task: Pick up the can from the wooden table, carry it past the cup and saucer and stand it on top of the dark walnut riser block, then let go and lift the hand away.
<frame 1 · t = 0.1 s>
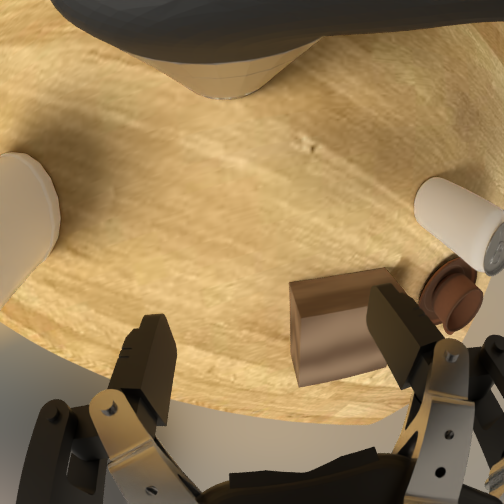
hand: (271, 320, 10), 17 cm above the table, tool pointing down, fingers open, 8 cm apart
cup and saucer: (442, 286, 34), on the table
bottle: (21, 207, 23), on the table
walnut block: (336, 314, 34), on the table
can: (431, 201, 27), on the table
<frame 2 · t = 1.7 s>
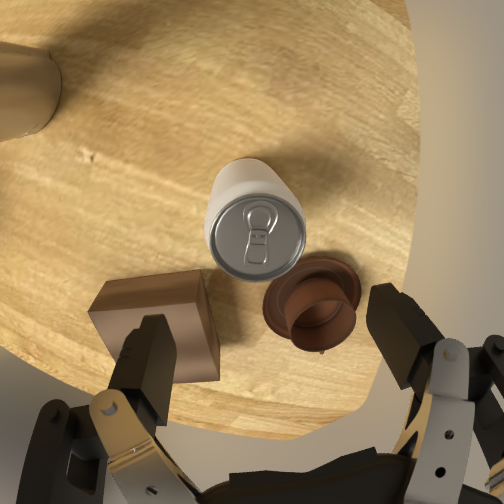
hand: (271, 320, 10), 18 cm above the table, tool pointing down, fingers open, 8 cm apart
cup and saucer: (309, 293, 33), on the table
walnut block: (164, 316, 33), on the table
can: (246, 189, 27), on the table
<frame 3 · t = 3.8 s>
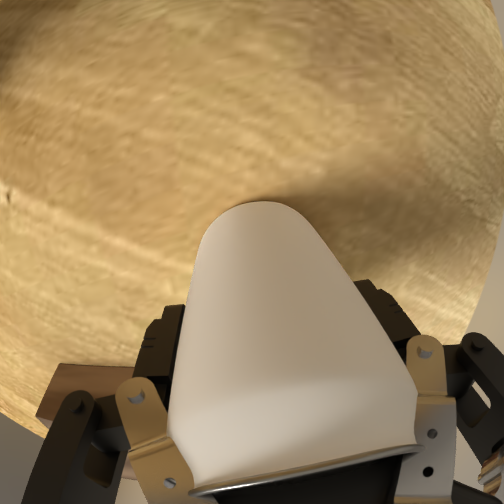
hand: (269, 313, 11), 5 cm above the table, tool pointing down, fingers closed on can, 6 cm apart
walnut block: (141, 408, 21), on the table
can: (258, 255, 15), on the table, touching gripper
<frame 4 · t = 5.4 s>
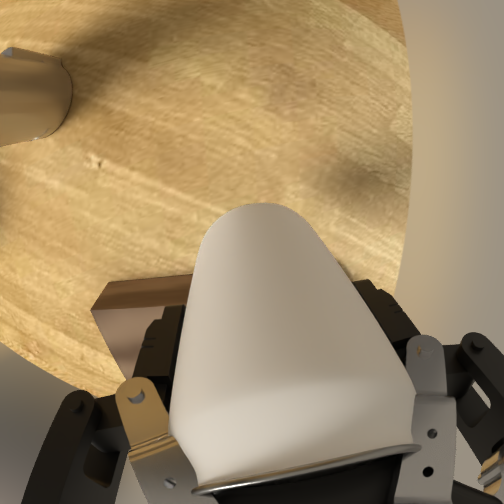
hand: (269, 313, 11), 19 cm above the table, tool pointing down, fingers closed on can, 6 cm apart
walnut block: (163, 318, 34), on the table
can: (258, 256, 15), point 14 cm above the table, touching gripper
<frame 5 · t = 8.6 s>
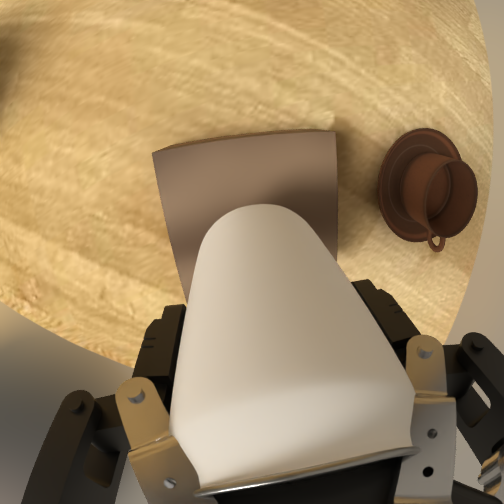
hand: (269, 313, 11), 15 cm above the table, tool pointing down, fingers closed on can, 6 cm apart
cup and saucer: (416, 182, 25), on the table
walnut block: (248, 201, 24), on the table
can: (259, 257, 15), point 11 cm above the table, touching gripper
when the fingers open (12 cm above the table, at t = 10.3 s): can stays where it is, resting on walnut block.
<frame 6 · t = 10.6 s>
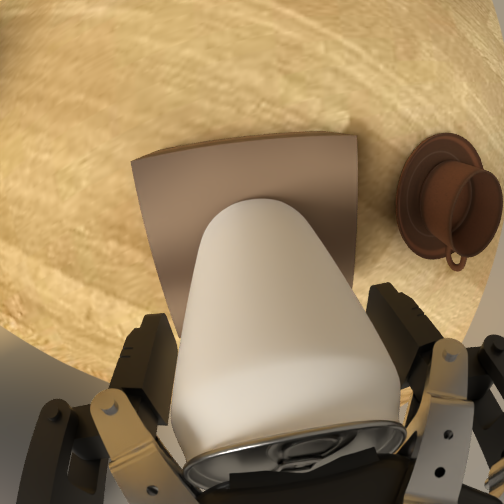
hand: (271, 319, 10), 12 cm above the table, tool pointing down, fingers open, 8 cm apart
cup and saucer: (435, 192, 22), on the table
walnut block: (249, 215, 21), on the table
can: (257, 249, 16), point 6 cm above the table, touching walnut block
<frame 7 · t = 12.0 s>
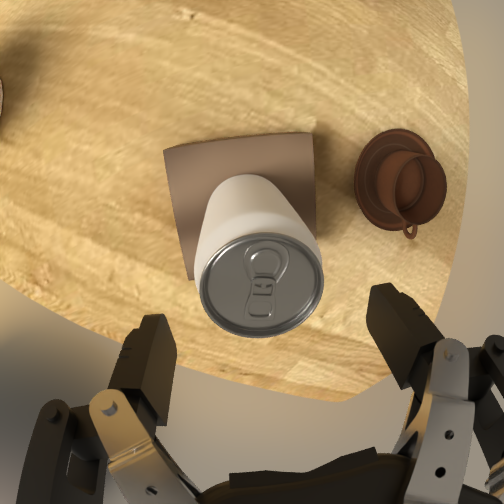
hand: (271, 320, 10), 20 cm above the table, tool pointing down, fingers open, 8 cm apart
cup and saucer: (391, 177, 29), on the table
walnut block: (242, 193, 28), on the table
can: (246, 210, 23), point 6 cm above the table, touching walnut block
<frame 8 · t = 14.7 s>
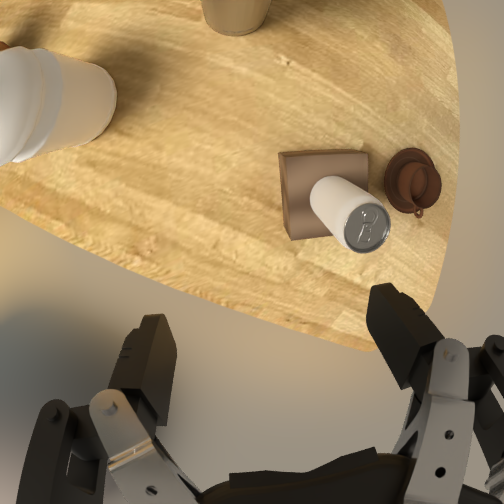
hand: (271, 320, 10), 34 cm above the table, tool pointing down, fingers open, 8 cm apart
cup and saucer: (406, 178, 43), on the table
bottle: (82, 104, 33), on the table
butternut squash: (5, 76, 27), on the table
walnut block: (318, 187, 43), on the table
can: (330, 196, 38), point 6 cm above the table, touching walnut block
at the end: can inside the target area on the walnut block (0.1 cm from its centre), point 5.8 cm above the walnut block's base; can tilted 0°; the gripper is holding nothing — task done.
